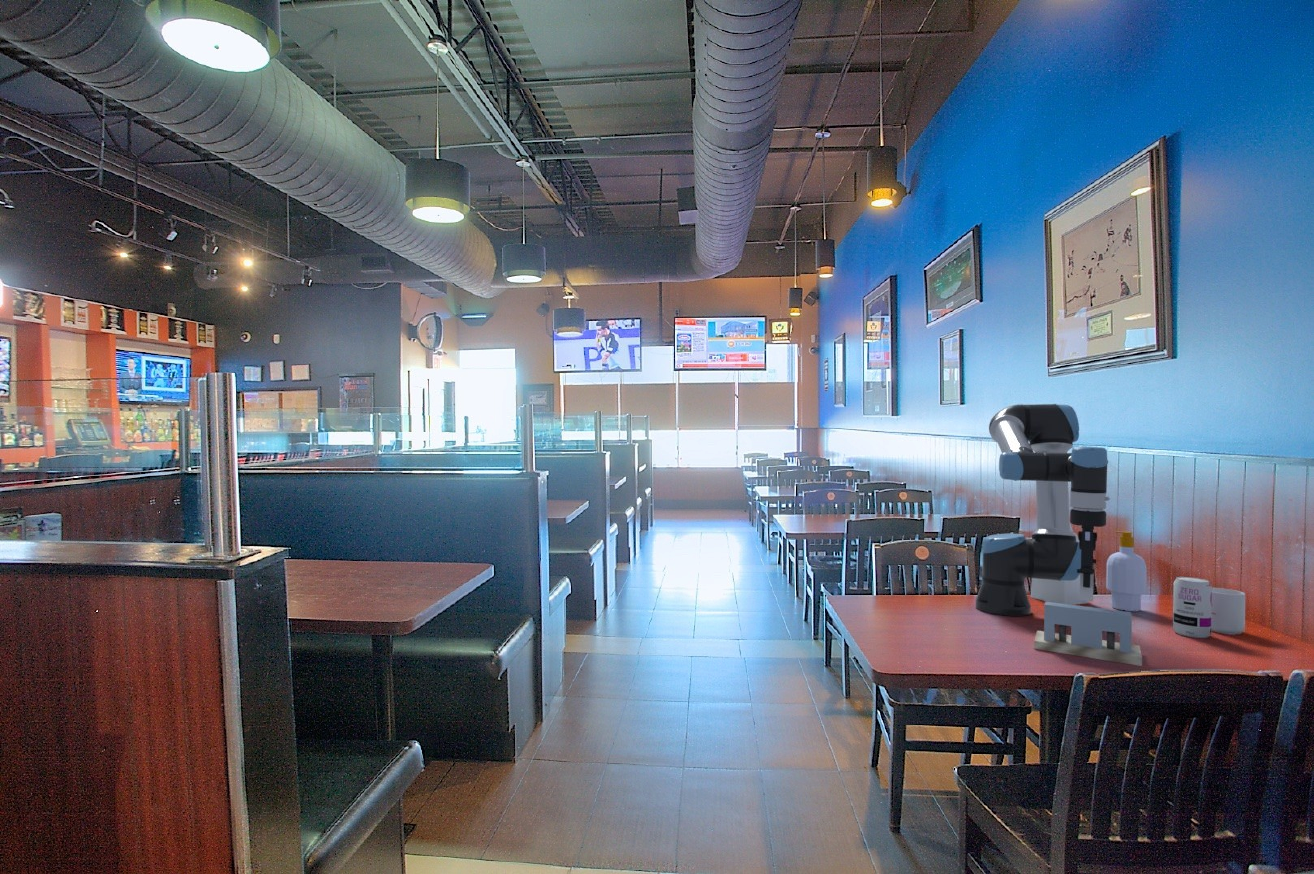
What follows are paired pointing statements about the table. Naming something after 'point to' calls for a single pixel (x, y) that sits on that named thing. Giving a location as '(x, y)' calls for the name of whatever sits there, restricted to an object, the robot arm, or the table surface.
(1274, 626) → the table surface
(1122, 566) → the soap bottle
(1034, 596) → the milk
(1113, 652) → the pegged base plate
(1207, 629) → the supplement can
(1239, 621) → the mug
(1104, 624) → the notched panel
